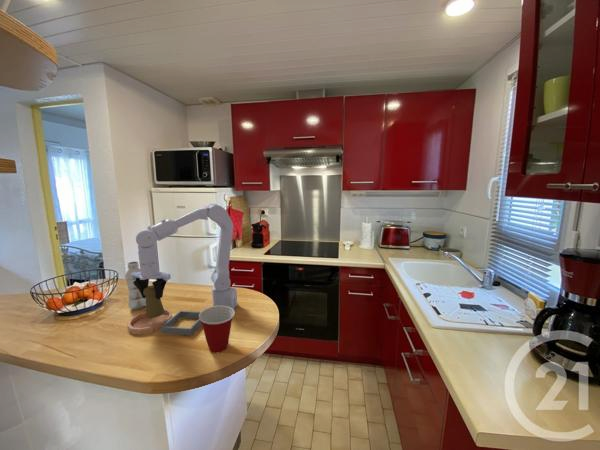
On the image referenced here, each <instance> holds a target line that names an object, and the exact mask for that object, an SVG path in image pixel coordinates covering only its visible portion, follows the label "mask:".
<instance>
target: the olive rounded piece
mask: <svg viewBox="0 0 600 450" xmlns="http://www.w3.org/2000/svg"><path fill="white" fill-rule="evenodd" d="M143 294H144V295H145V296H146V305H145V312H146V318H148V319H151V318H156V317H159V316H161V315H162V314H164V313H165V311H164V309H165V307H164V306H163V303H162V298H160V299H157V297H156V291H155V288H154V286H153V284H152V285H148V287H146V288H145V289H144V290H143Z"/></svg>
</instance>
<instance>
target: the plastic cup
mask: <svg viewBox="0 0 600 450" xmlns="http://www.w3.org/2000/svg"><path fill="white" fill-rule="evenodd" d="M199 312H200V314H199V319H200V321H201V323H202V325H201V326H202V329H203V332H204V337H205V340H206V342H207V343H206V344H207V346H208V350H209V352H210V353H214V354H218V353H217V352H219V353H222V352H224V351H225V350H227V348H228V346H229V343H230V342H229V341H230V340H229V339H230V335H231V327H232V322H233V318H234V317H235V315H236V314H235V313H236V311H235V308H234V309H232V308H231V307H227V306H209V307H207V308H204V309H203V310H201V311H199ZM223 350H224V351H223ZM221 351H222V352H221Z"/></svg>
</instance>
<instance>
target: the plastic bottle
mask: <svg viewBox="0 0 600 450" xmlns="http://www.w3.org/2000/svg"><path fill="white" fill-rule="evenodd" d="M127 269H128V270H127V271H126V273H125V276H124V278H125V279H124V280H125V281H126V285H127V289H128V302H127V303H128V308H129V309H130V310H133V311H134V310H136V311H137V310H140V309H143V308H144V307H146V298H143V297H142V295H141V293H140V291H139V289H138V288H137V287H136V286H135V285H134V284H133V282H134V281H136V278H134V279H131V278H130V274H131V273H134V272H140V264H139V261H131V262H128V263H127Z"/></svg>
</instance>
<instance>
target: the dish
mask: <svg viewBox="0 0 600 450" xmlns="http://www.w3.org/2000/svg"><path fill="white" fill-rule="evenodd" d="M164 311H165V313H164V314H162V315H161V316H159V317H156V318H151V319H148V318H146V311H142V312H141V313H138V314H136V315H134V316H133V317H131V318H130V319H129V321H128V323H127V331H128V332H129V333H130V334H131V335H140V336H141V335H147V334H150V333H155V332H158V331H159V330H160V331H161V326H163V325H164V324H165V323H166V322H167V321H168V320H170V319H171V318H172V317H173V312H172V311H171V310H170V309H168V308H164Z"/></svg>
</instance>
